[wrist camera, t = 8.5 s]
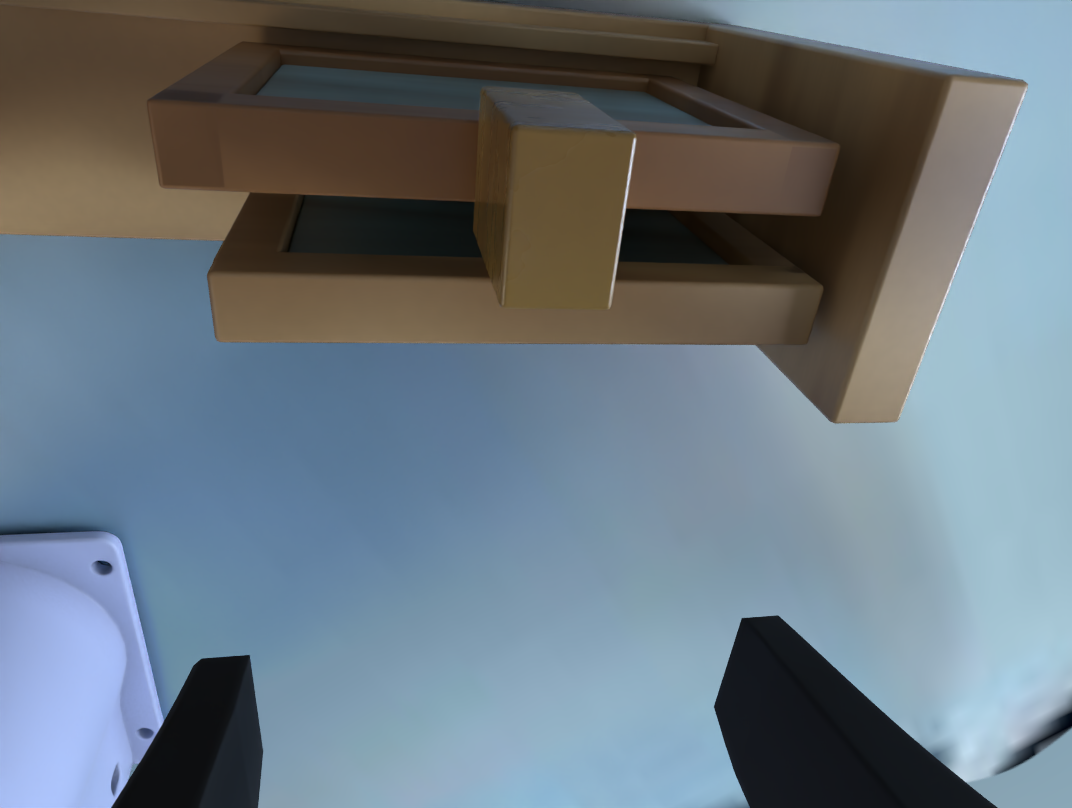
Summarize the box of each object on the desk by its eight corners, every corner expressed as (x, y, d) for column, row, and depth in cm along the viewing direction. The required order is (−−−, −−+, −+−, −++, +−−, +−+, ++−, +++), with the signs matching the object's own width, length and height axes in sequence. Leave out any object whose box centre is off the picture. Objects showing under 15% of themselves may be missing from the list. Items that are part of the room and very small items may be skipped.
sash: (661, 144, 16) (923, 316, 9) (247, 119, 15) (97, 305, 7) (676, 55, 16) (983, 155, 8) (236, 16, 14) (52, 95, 6)
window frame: (694, 241, 19) (899, 424, 12) (-222, 209, 15) (-808, 458, 8) (738, 25, 17) (1034, 81, 9) (-340, -81, 13) (-1379, -134, 5)
